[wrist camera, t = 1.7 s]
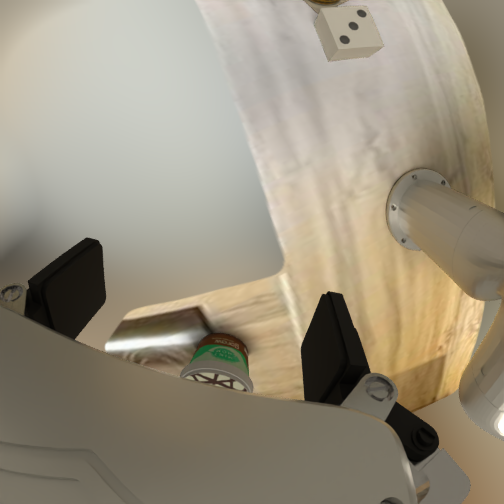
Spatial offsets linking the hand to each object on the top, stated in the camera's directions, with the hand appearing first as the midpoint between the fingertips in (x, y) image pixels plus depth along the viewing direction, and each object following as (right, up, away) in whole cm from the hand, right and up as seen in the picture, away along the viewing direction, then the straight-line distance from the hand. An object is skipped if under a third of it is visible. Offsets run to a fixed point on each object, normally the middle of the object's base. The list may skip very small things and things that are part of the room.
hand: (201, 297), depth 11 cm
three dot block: (+14, +30, +16) cm, 37 cm away
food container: (-3, -14, +37) cm, 40 cm away
